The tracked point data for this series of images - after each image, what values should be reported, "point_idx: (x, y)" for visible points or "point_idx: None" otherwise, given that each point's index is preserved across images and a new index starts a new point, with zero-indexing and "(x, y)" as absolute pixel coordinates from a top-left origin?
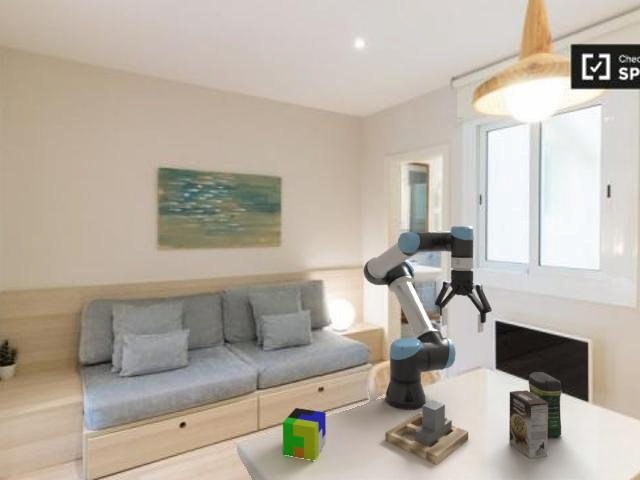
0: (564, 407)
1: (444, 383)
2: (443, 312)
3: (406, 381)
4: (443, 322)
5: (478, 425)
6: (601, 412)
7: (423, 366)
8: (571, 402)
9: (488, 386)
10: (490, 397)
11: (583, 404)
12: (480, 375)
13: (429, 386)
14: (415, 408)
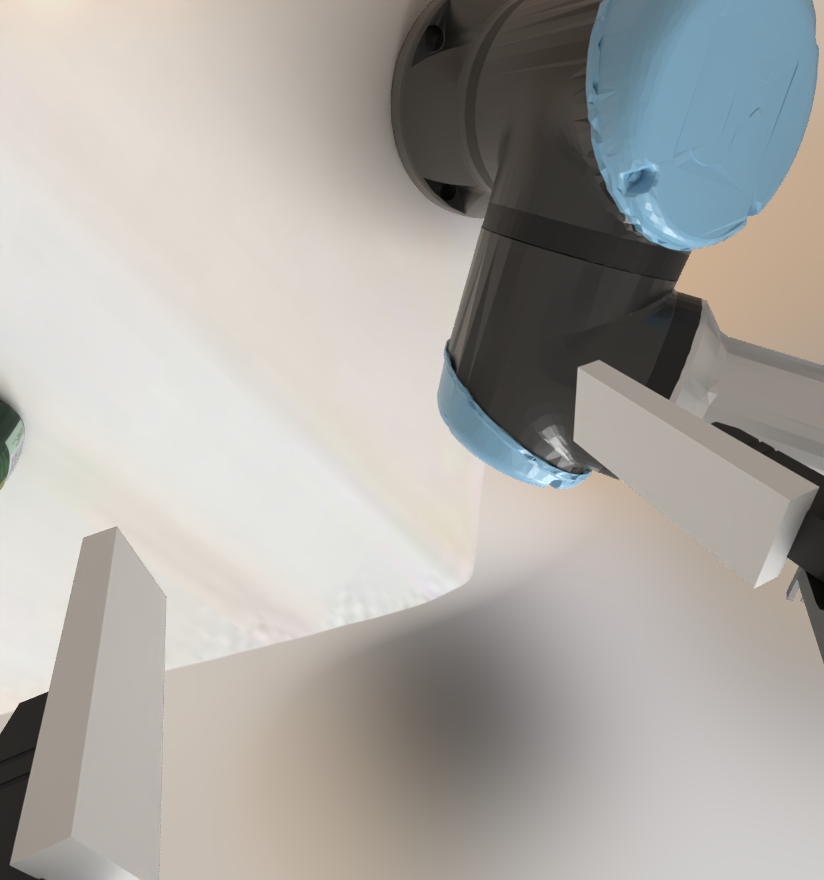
0: None
1: None
2: (723, 455)
3: (503, 21)
4: (607, 383)
5: (109, 209)
6: (30, 686)
7: (500, 168)
8: None
9: (371, 514)
10: (303, 461)
11: None
12: (442, 546)
13: None
14: (396, 68)
